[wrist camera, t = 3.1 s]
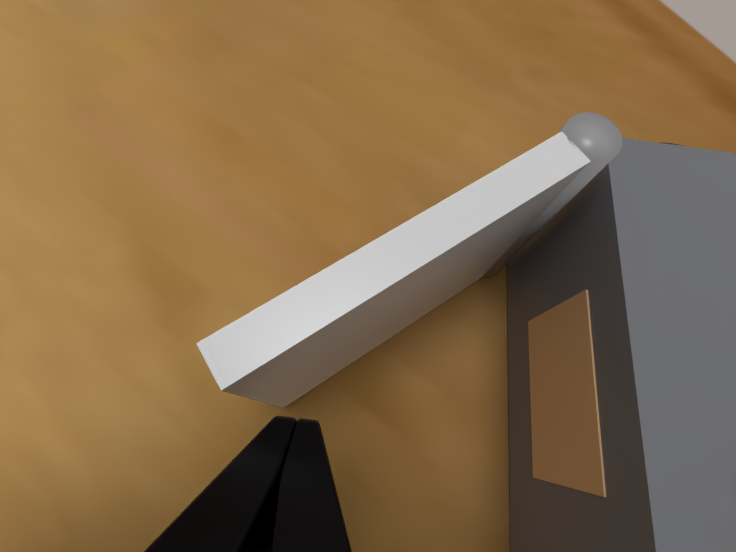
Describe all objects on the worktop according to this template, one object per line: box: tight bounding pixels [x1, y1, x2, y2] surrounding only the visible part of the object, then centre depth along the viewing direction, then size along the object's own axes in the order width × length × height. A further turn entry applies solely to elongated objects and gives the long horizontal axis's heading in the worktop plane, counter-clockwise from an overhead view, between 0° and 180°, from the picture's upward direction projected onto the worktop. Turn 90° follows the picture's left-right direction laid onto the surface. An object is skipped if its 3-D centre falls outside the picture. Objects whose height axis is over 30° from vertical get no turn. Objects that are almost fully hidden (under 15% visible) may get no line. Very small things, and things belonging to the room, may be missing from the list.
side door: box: [196, 112, 623, 408], centre depth 12 cm, size 11×2×8 cm, turn 123°
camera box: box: [507, 138, 736, 552], centre depth 12 cm, size 13×6×8 cm, turn 173°
